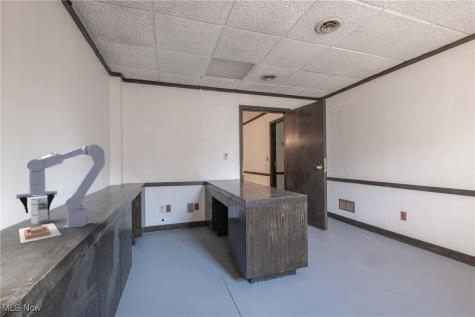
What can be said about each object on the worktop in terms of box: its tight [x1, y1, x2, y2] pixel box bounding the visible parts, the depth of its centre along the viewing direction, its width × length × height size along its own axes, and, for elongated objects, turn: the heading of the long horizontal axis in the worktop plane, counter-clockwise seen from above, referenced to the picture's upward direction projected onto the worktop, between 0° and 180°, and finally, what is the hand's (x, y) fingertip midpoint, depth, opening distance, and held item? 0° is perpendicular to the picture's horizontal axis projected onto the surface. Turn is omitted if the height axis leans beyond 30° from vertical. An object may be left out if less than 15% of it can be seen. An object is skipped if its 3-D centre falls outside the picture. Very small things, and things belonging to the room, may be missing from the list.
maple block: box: [29, 223, 43, 234], centre depth 98 cm, size 8×4×3 cm, turn 47°
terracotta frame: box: [24, 226, 50, 240], centre depth 98 cm, size 12×8×2 cm, turn 47°
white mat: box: [18, 222, 62, 245], centre depth 101 cm, size 13×26×1 cm, turn 47°
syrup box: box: [30, 196, 51, 225], centre depth 117 cm, size 6×6×14 cm
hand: (37, 211), depth 104 cm, fingers open, 7 cm apart
